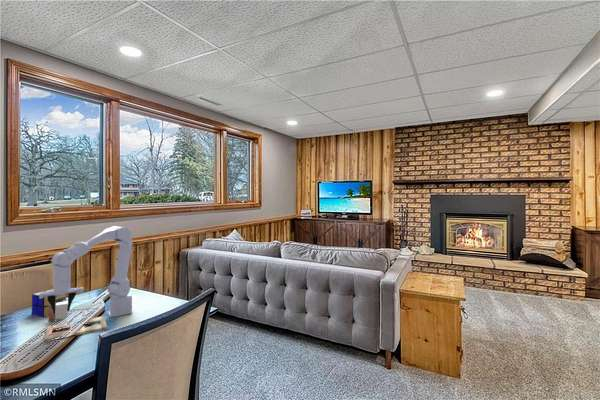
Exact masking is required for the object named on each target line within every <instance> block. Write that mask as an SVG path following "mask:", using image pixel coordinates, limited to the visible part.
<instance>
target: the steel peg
mask: <svg viewBox="0 0 600 400" xmlns="http://www.w3.org/2000/svg"><path fill="white" fill-rule="evenodd" d="M67 309H68V300H67V301H64V302H58V303H56V305H55V320H56V319H60V320H62V319H67V318H68V314H69V313H68V312H69V311H67Z"/></svg>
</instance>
